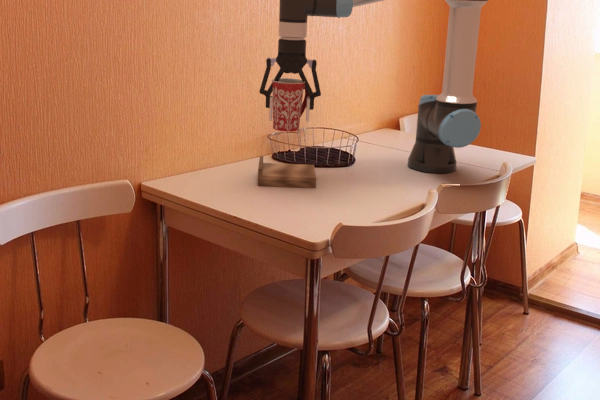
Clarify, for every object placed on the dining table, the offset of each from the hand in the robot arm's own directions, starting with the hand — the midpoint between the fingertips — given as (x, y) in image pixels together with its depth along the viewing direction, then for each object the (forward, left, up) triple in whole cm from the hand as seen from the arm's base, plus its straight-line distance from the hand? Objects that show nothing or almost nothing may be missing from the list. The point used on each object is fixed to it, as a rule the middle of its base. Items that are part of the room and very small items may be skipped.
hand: (289, 120), depth 195 cm
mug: (-1, 0, -2) cm, 3 cm away
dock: (0, 0, -17) cm, 17 cm away
